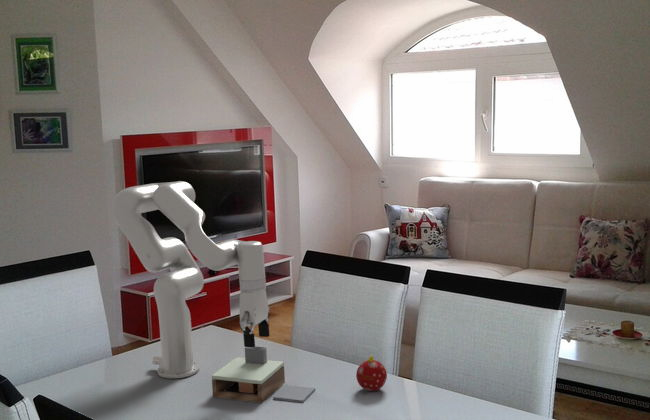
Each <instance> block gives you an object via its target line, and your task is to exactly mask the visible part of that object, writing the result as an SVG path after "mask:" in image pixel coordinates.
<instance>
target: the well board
mask: <svg viewBox="0 0 650 420" xmlns="http://www.w3.org/2000/svg"><path fill="white" fill-rule="evenodd" d="M211 379H212V378H211ZM235 383H237V382H236V381H226V380H217V379H212V380H211V384H212V388H211V389H212V397H213V398H220V399H228V400H237V401H245V402H254V403H261V404H263V403H264V402H265V401H266V400H267V399H268V398H270V396H272V395H273V394H274V393H275V392H276V391H277V390H278V389H279V388H280V387H281V386H283V385H284V384H285V383H286V380H285V365H284V366H282V367H281V368H280V369H279V370H278V371H277V372H275V373H274V374H273V375H272V376H271V377H270V378H268V379H267V380H266V381H265V382H264V383H263V384H258V390H257V393H258V394H253V393H244V392H235V391H234V392H232V391H227V390H228V389H229V388H231V387H232V386H233V385H234V384H235Z"/></svg>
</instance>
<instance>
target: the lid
mask: <svg viewBox="0 0 650 420" xmlns="http://www.w3.org/2000/svg"><path fill="white" fill-rule="evenodd" d="M267 355H268V354H267V347H264V346H255V347H245V346H244V357H239V356H237V357H235V358H234V359H232V360H231V361H230V362H228V363H227V364H226V365H224V366H223V367H221V368H220V369H218V370H217V371H216V372H214V373H213V374H212V375H211V379H217V380H226V381H236V382H235V383H239V382H245V383H254V384H263V383H264V382H265V381H266V380H267V379H268V378H270V377H271V376H272V375H273V374H274V373H275V372H277V371H278V370H279V369H280V368H281V367H282V366H284V367H285V361H282V360H281V361H280V360H268V359H267V358H268V357H267Z"/></svg>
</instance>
